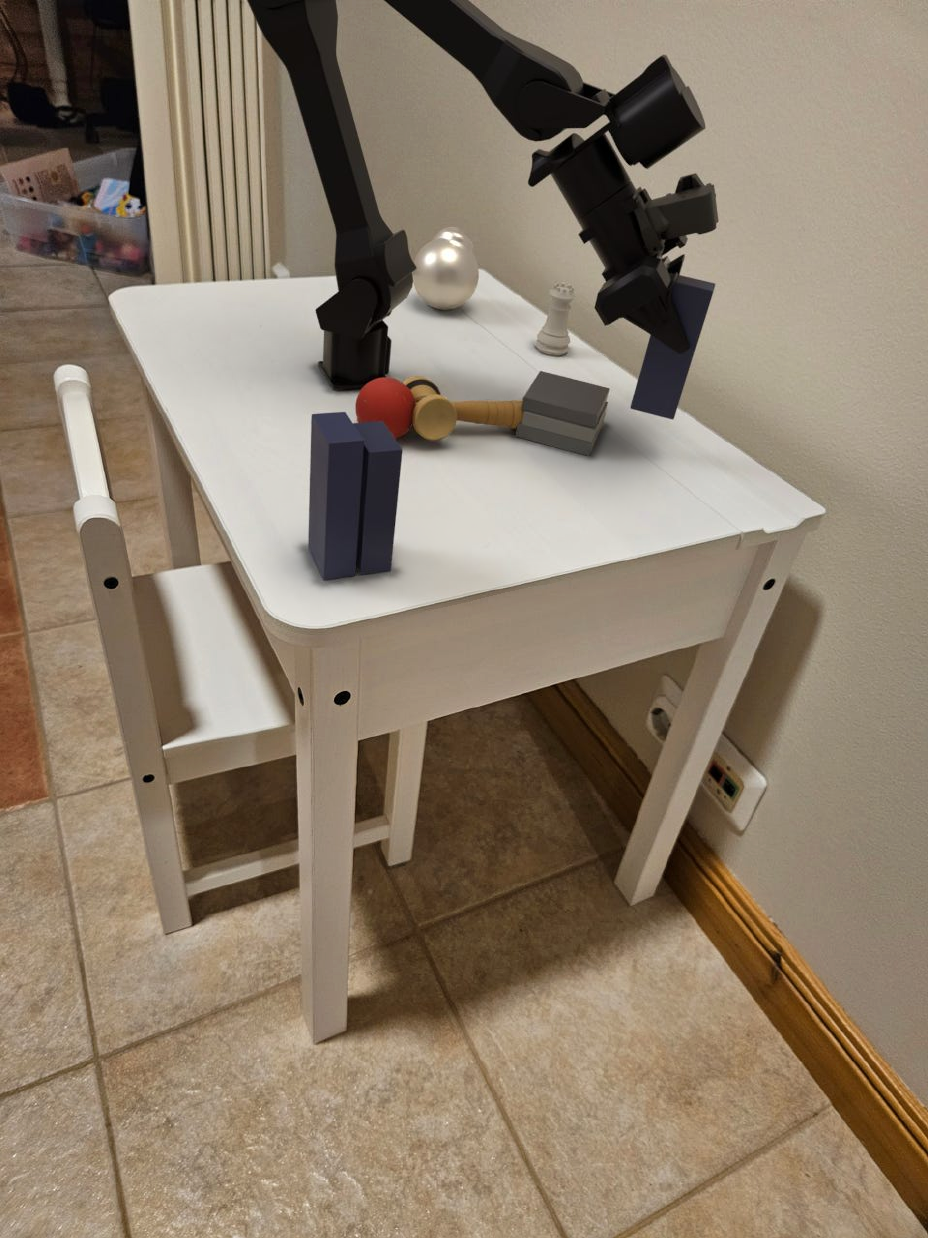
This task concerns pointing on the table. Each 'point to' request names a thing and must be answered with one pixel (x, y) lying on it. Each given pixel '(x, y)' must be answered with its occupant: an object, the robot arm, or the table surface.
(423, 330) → the table surface
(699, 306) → the navy book
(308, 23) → the robot arm
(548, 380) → the grey books
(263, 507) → the table surface
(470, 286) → the baroque pearl
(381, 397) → the kendama
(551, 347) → the rook chess piece
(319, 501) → the navy books
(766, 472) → the table surface
